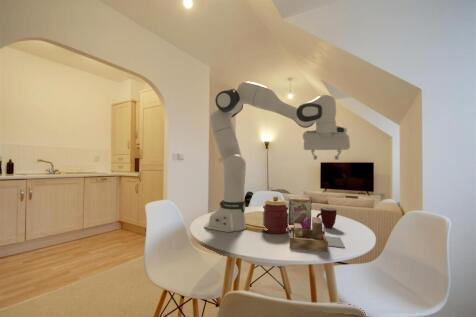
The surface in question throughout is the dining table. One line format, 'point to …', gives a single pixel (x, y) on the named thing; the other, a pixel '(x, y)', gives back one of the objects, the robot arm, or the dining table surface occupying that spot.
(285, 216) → the canister
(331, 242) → the felt pad
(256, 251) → the dining table surface
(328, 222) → the mug
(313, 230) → the tall brown cardboard box
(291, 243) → the rack
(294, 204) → the candy bar box
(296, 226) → the offcut top
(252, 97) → the robot arm
